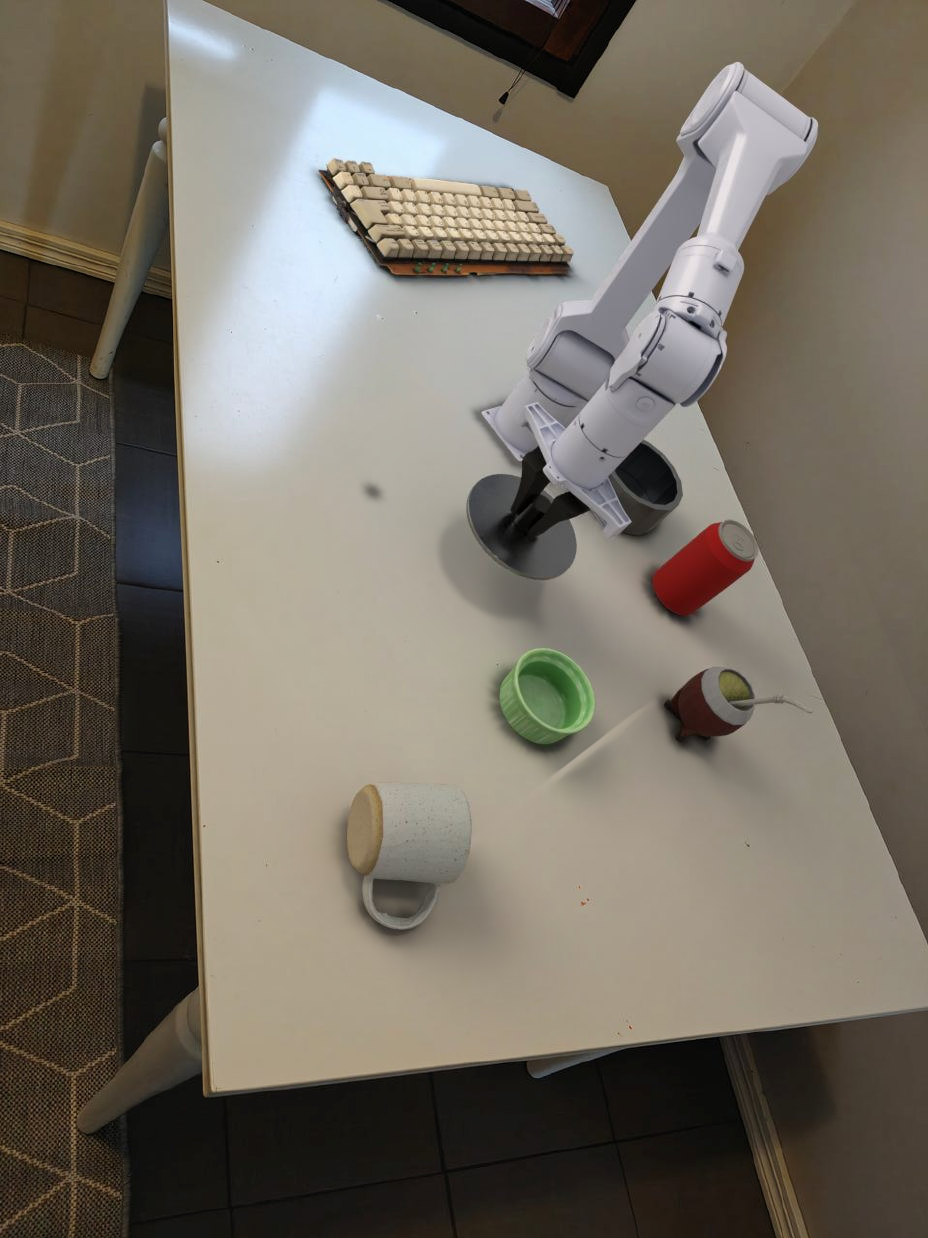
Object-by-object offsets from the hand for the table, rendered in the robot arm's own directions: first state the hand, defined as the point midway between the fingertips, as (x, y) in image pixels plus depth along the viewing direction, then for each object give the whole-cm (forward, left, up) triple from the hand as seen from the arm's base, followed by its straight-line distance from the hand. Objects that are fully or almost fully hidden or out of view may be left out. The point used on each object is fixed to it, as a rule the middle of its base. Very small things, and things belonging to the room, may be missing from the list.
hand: (526, 520), depth 85 cm
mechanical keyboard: (-35, -48, -9) cm, 60 cm away
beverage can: (-22, +13, -9) cm, 27 cm away
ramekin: (+7, +15, -9) cm, 19 cm away
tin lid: (0, 0, -1) cm, 1 cm away
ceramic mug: (+29, +19, -9) cm, 36 cm away
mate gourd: (-10, +26, -9) cm, 29 cm away
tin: (-26, -1, -8) cm, 28 cm away
